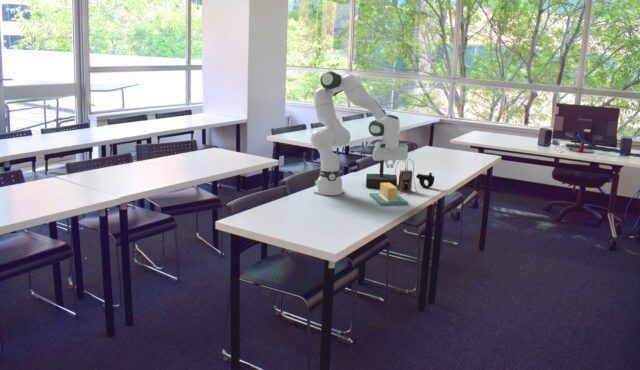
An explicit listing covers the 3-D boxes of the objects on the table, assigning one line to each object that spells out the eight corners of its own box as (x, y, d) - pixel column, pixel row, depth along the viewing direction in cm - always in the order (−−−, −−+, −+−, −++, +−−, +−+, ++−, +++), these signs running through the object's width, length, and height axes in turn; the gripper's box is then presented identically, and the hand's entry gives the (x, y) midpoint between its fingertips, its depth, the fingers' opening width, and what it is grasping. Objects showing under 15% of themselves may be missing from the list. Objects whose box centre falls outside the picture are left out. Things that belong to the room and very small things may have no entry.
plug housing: (379, 194, 338) (380, 182, 336) (389, 194, 339) (389, 182, 337) (387, 200, 325) (388, 188, 323) (396, 200, 326) (397, 188, 324)
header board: (369, 195, 341) (369, 185, 340) (394, 194, 345) (395, 184, 343) (380, 205, 320) (381, 194, 319) (407, 204, 324) (408, 193, 322)
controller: (431, 189, 358) (432, 174, 355) (414, 186, 366) (415, 171, 363) (435, 188, 361) (436, 173, 358) (418, 185, 369) (419, 170, 366)
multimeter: (398, 195, 343) (400, 162, 338) (393, 191, 353) (394, 159, 348) (421, 194, 346) (423, 162, 341) (415, 190, 356) (417, 158, 351)
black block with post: (395, 183, 373) (397, 153, 369) (396, 189, 357) (398, 158, 352) (366, 182, 375) (367, 152, 370) (365, 188, 359) (367, 157, 354)
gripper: (406, 142, 330) (404, 166, 333) (372, 143, 325) (371, 167, 329) (410, 144, 324) (408, 168, 327) (375, 145, 319) (374, 169, 323)
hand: (389, 167), depth 328 cm, fingers closed
